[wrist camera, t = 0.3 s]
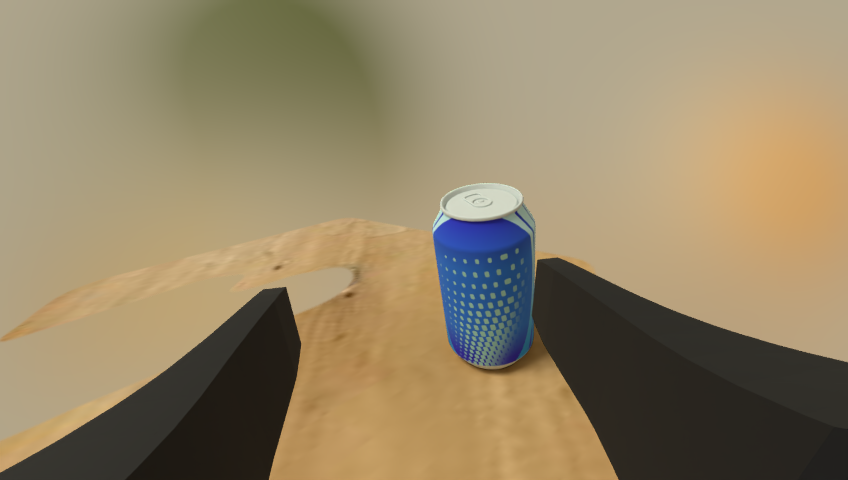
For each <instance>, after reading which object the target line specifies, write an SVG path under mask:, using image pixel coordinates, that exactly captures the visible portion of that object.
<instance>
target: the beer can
mask: <svg viewBox="0 0 848 480" xmlns="http://www.w3.org/2000/svg"><path fill="white" fill-rule="evenodd" d="M440 208H441V210H440V212H439V214H438V216H437V218H436V220H435V222H434V224H433V240H434V246H435V253H436V260H437V267H438V273H439V280H440V287H441V294H442V300H443V307H444V314H445V321H446V327H447V334H448V340H449V343H450V345H451V347H452V349H453V350H454V352H455V353H456V354H457V355H458V356H460V357H461V358H462V359H464V360H466V361H467V362H468V363H470V364H472V365H474V366H476V367H479V368H483V369H501V368H505V367H507V366H510V365H512V364H513V363H515V362H516V361H518V360H519V359H520V358H522V357H523V356H524V355H525V354H526V353H527V352H528V351H529V349H530V347H531V345H532V343H533V337H534V320H533V318H532V307H533V298H534V281H535V221H534V218H533V216H532V214H531V213H530V211H529V210H528V209H527V207H526V206H525V205H524V203H523V195H522V193H521V192H520V191H519V190H517V189H516V188H513V187H511V186H508V185H503V184H494V183H481V184H473V185H467V186H463V187H460V188H457V189H455V190H453V191H451V192H449V193H447V194H446V195H445V196H444V197H443V198H442V199H441V202H440Z"/></svg>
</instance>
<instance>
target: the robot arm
mask: <svg viewBox="0 0 848 480" xmlns="http://www.w3.org/2000/svg"><path fill="white" fill-rule="evenodd" d="M532 318H533V320H534V323H535V325H536V328H537V330H538V332H539V334H540V337H541V339H542V341H543V343H544V345H545V347H546V349H547V351H548V352H549V354H550V356H551V357H552V359H553V361H554V362H555V364H556V366H557V367H558V369H559V371H560V372H561V374H562V375H563V377H564V379H565V380H566V382H567V384H568V385H569V387H570V388H571V390H572V392H573V393H574V395H575V397H576V398H577V400H578V401H579V403H580V405H581V406H582V408H583V410H584V411H585V413H586V415H587V416H588V418H589V420H590V422H591V424H592V425H593V427H594V429H595V431H596V433H597V435H598V437H599V439H600V441H601V443H602V445H603V448H604V450H605V452H606V454H607V456H608V458H609V460H610V462H611V464H612V466H613V468H614V470H615V473H616V475H617V477H618V479H619V480H848V362H844V361H839V360H835V359H831V358H827V357H823V356H819V355H814V354H810V353H806V352H802V351H798V350H794V349H791V348H787V347H783V346H779V345H776V344H772V343H769V342H765V341H762V340H759V339H755V338H752V337H749V336H745V335H742V334H739V333H735V332H732V331H729V330H726V329H723V328H720V327H717V326H714V325H711V324H708V323H705V322H703V321H700V320H697V319H694V318H692V317H689V316H686V315H684V314H681V313H678V312H676V311H673V310H671V309H668V308H666V307H663V306H661V305H659V304H657V303H654V302H652V301H650V300H647V299H645V298H643V297H640V296H638V295H636V294H634V293H632V292H629V291H627V290H625V289H623V288H621V287H619V286H617V285H615V284H612V283H611V282H609V281H607V280H605V279H602V278H600V277H598V276H596V275H594V274H592V273H590V272H588V271H586V270H584V269H582V268H580V267H578V266H576V265H574V264H572V263H570V262H567V261H565V260H562V259H560V258H549V259H540V260H537V269H536V278H535V288H534V298H533V307H532ZM300 349H301V341H300V338H299V334H298V330H297V326H296V323H295V319H294V315H293V311H292V308H291V304H290V301H289V297H288V293H287V289H286V287H282V288H273V289H264V290H262V291H261V292H259V293H258V294H257V295H256V296H254V297H253V298H252V299H251V300H250V301H249V302H247V303H246V304H245V305H244V306H243V307H242V308H241V309H239V310H238V311H237V312H236V313H235V314H234V315H233V316H232V317H230V318H229V319H228V320H227V321H226V322H225V323H223V324H222V325H221V326H220V327H219V328H218V329H217V330H215V331H214V332H213V333H212V334H211V335H210V336H208V337H207V338H206V339H205V340H203V341H202V342H201V343H200V344H198V345H197V346H196V347H195V348H193V349H192V350H191V351H190V352H188V353H187V354H186V355H185V356H184V357H182V358H181V359H180V360H178V361H177V362H176V363H175V364H173V365H172V366H171V367H170V368H168V369H167V370H166V371H164V372H163V373H161V374H160V375H159V376H157V377H156V378H155V379H153V380H152V381H150V382H149V383H148V384H146V385H145V386H143V387H142V388H140V389H139V390H137V391H136V392H134V393H133V394H132V395H130V396H129V397H127V398H126V399H124V400H123V401H121V402H120V403H118V404H117V405H115V406H114V407H112V408H110V409H109V410H107V411H105V412H104V413H102V414H101V415H99V416H97V417H96V418H94V419H92V420H91V421H89V422H87V423H86V424H84V425H83V426H81V427H79V428H78V429H76V430H74V431H73V432H71V433H70V434H68V435H66V436H65V437H63V438H61V439H60V440H58V441H56V442H55V443H53V444H51V445H49V446H48V447H46V448H44V449H42V450H41V451H39V452H37V453H35V454H33V455H32V456H30V457H28V458H26V459H25V460H23V461H21V462H19V463H17V464H16V465H14V466H12V467H10V468H8V469H6V470H4V471H2V472H1V473H0V480H269V476H270V472H271V468H272V464H273V459H274V456H275V452H276V449H277V445H278V442H279V438H280V435H281V431H282V428H283V424H284V421H285V417H286V414H287V410H288V407H289V403H290V399H291V396H292V392H293V388H294V385H295V381H296V377H297V371H298V364H299V357H300Z"/></svg>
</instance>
